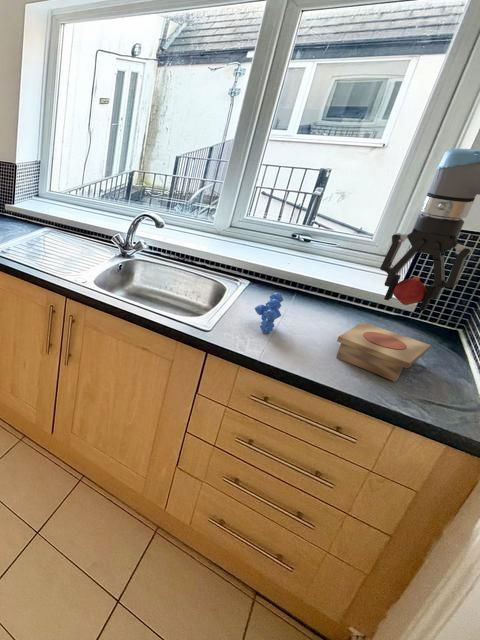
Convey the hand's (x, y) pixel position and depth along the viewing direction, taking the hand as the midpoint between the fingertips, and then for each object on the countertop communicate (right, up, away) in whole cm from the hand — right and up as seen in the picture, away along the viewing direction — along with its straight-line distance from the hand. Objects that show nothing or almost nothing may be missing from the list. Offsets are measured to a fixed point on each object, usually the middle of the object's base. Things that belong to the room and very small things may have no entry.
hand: (404, 303), depth 107 cm
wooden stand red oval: (-3, -16, +5) cm, 17 cm away
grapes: (-23, -10, +20) cm, 32 cm away
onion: (0, 0, 0) cm, 0 cm away
